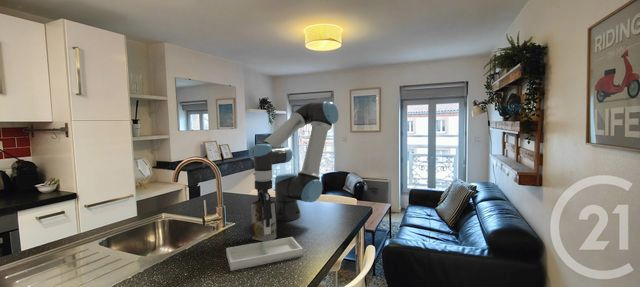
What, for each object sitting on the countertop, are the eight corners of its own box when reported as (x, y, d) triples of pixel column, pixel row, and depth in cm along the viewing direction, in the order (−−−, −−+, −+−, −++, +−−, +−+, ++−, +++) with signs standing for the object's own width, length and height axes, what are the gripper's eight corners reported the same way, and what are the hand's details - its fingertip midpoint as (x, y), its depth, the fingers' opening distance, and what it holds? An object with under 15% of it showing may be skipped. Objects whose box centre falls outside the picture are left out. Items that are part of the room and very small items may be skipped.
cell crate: (226, 255, 112) (226, 248, 112) (292, 243, 123) (292, 236, 122) (230, 270, 100) (230, 262, 100) (302, 256, 111) (302, 248, 111)
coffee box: (277, 237, 130) (276, 201, 129) (268, 242, 124) (268, 205, 123) (260, 234, 134) (259, 199, 132) (251, 239, 128) (250, 202, 127)
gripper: (249, 176, 136) (250, 222, 137) (260, 185, 115) (261, 240, 116) (265, 174, 139) (266, 220, 140) (279, 183, 118) (280, 237, 119)
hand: (264, 229), depth 128 cm, fingers closed on coffee box, 11 cm apart
